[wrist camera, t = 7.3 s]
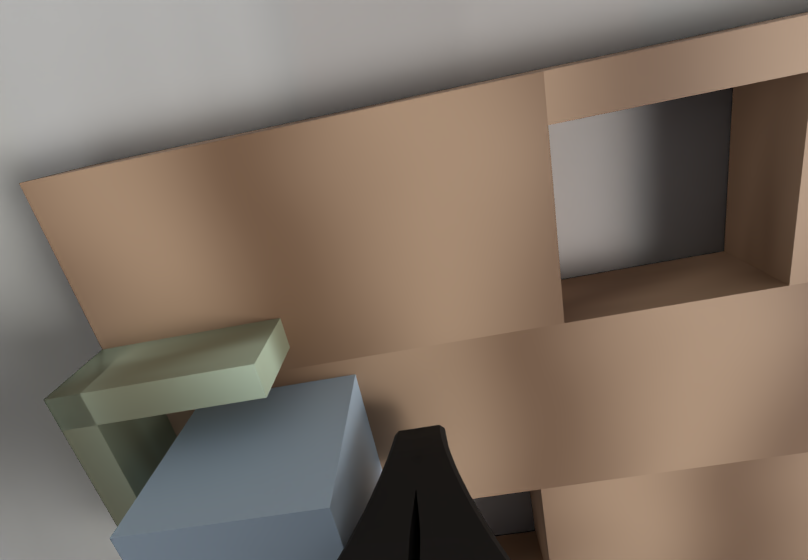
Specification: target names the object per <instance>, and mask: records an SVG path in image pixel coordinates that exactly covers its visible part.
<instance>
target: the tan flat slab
mask: <svg viewBox="0 0 808 560" xmlns="http://www.w3.org/2000/svg"><path fill="white" fill-rule="evenodd" d="M732 87H733V98H732V117H731V135H730V154H729V172H728V190H727V209H726V227H725V246H724V251H722V252H717V253H711V254H705V255H700V256H694V257H688V258H682V259H677V260H671V261H665V262H660V263H654V264H648V265H643V266H637V267H631V268H626V269H620V270H614V271H608V272H603V273H597V274H591V275H586V276H580V277H574V278H569V279H563V280H561V275H560V263H559V251H558V239H557V227H556V215H555V203H554V191H553V179H552V167H551V155H550V143H549V131H548V125H551V124H556V123H560V122H565V121H570V120H575V119H580V118H585V117H590V116H595V115H600V114H605V113H610V112H614V111H619V110H624V109H629V108H634V107H639V106H644V105H649V104H654V103H659V102H664V101H668V100H673V99H678V98H683V97H688V96H693V95H698V94H703V93H708V92H713V91H718V90H722V89H727V88H732ZM19 184H20V186H21V188H22V190H23V192H24V194H25V196H26V198H27V200H28V202H29V204H30V206H31V208H32V210H33V212H34V214H35V216H36V218H37V220H38V222H39V224H40V226H41V228H42V230H43V232H44V234H45V236H46V238H47V240H48V242H49V244H50V246H51V248H52V250H53V252H54V254H55V256H56V258H57V260H58V262H59V264H60V266H61V268H62V270H63V272H64V274H65V276H66V278H67V280H68V282H69V284H70V286H71V288H72V290H73V292H74V294H75V296H76V298H77V300H78V302H79V304H80V306H81V308H82V310H83V312H84V314H85V316H86V318H87V320H88V322H89V324H90V326H91V328H92V330H93V332H94V334H95V336H96V338H97V340H98V342H99V344H100V346H101V348H102V350H101V351H100V352H99V353H98V354H97V355H95V356H94V357H93V358H92V359H91V360H90V361H88V362H87V363H86V364H85V365H84V366H83V367H81V368H80V369H79V370H78V371H77V372H76V373H74V374H73V375H72V376H71V377H70V378H69V379H67V380H66V381H65V382H64V383H63V384H62V385H60V386H59V387H58V388H57V389H56V390H55V391H53V392H52V393H51V394H50V395H49V396H48V397H46V398H45V399H44V401H45V403H46V405H47V406H48V408H49V410H50V412H51V413H52V415H53V417H54V419H55V420H56V422H57V424H58V425H59V427H60V429H61V431H62V432H63V434H64V436H65V437H66V439H67V441H68V443H69V444H70V446H71V448H72V450H73V451H74V453H75V455H76V456H77V458H78V460H79V462H80V463H81V465H82V467H83V468H84V470H85V472H86V474H87V475H88V477H89V479H90V480H91V482H92V484H93V486H94V487H95V489H96V491H97V493H98V494H99V496H100V498H101V499H102V501H103V503H104V505H105V506H106V508H107V510H108V511H109V513H110V515H111V517H112V518H113V520H114V522H115V524H116V525H117V527H118V525H119V524H120V522H121V521H122V519H123V518H124V516H125V515H126V513H127V512H128V510H129V509H130V507H131V506H132V504H133V503H134V501H135V500H136V498H137V497H138V495H139V494H140V492H141V491H142V489H143V488H144V486H145V485H146V483H147V482H148V480H149V479H150V477H151V476H152V474H153V473H154V471H155V470H156V468H157V467H158V465H159V464H160V462H161V461H162V459H163V457H164V456H165V454H166V453H167V451H168V450H169V448H170V447H171V445H172V444H173V442H174V441H175V439H176V438H177V436H178V435H179V433H180V432H181V430H182V429H183V427H184V426H185V424H186V423H187V421H188V420H189V418H190V417H191V415H192V414H193V412H194V411H195V409H200V408H206V407H212V406H218V405H224V404H230V403H236V402H242V401H249V400H255V399H261V398H267V396H268V394H269V391H270V389H271V388H275V387H281V386H287V385H293V384H300V383H306V382H312V381H318V380H324V379H330V378H336V377H342V376H348V375H354V374H356V378H357V382H358V385H359V389H360V392H361V396H362V400H363V403H364V407H365V410H366V414H367V417H368V421H369V425H370V428H371V432H372V435H373V439H374V442H375V446H376V450H377V453H378V457H379V460H380V464H381V467H382V470H383V467H384V465H385V462H386V460H387V457H388V454H389V452H390V449H391V446H392V443H393V440H394V436H395V435H396V433H397V432H398V431H401V430H408V429H415V428H421V427H428V426H434V425H441V426H442V427H444V428H445V431H446V436H447V441H448V446H449V449H450V452H451V455H452V457H453V460H454V462H455V465H456V467H457V469H458V471H459V474H460V476H461V478H462V480H463V482H464V484H465V486H466V488H467V490H468V492H469V494H470V495H471V497H472V499H475V498H482V497H489V496H496V495H503V494H511V493H518V492H525V491H530V495H531V502H532V510H533V517H534V525H535V531H532V532H524V533H517V534H509V535H501V536H495V537H496V539H497V540H498V542H499V543H500V545H501V546H502V547H503V549H504V550H505V552H506V553H507V555H508V556H509V558H510V559H511V560H808V12H805V13H800V14H796V15H791V16H786V17H782V18H777V19H772V20H768V21H763V22H758V23H754V24H749V25H744V26H740V27H735V28H730V29H726V30H721V31H716V32H712V33H707V34H702V35H698V36H693V37H688V38H684V39H679V40H674V41H670V42H665V43H660V44H656V45H651V46H646V47H641V48H637V49H632V50H627V51H623V52H618V53H613V54H609V55H604V56H599V57H595V58H590V59H585V60H581V61H576V62H571V63H567V64H562V65H557V66H553V67H548V68H543V69H539V70H534V71H529V72H525V73H520V74H515V75H511V76H506V77H501V78H497V79H492V80H487V81H483V82H478V83H473V84H469V85H464V86H459V87H455V88H450V89H445V90H441V91H436V92H431V93H427V94H422V95H417V96H413V97H408V98H403V99H399V100H394V101H389V102H385V103H380V104H375V105H371V106H366V107H361V108H357V109H352V110H347V111H343V112H338V113H333V114H329V115H324V116H319V117H314V118H310V119H305V120H300V121H296V122H291V123H286V124H282V125H277V126H272V127H268V128H263V129H258V130H254V131H249V132H244V133H240V134H235V135H230V136H226V137H221V138H216V139H212V140H207V141H202V142H198V143H193V144H188V145H184V146H179V147H174V148H170V149H165V150H160V151H156V152H151V153H146V154H142V155H137V156H132V157H128V158H123V159H118V160H114V161H109V162H104V163H100V164H95V165H90V166H86V167H82V168H78V169H74V170H70V171H66V172H62V173H58V174H54V175H50V176H46V177H42V178H38V179H34V180H30V181H26V182H22V183H19Z"/></svg>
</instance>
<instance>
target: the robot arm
mask: <svg viewBox="0 0 808 560" xmlns="http://www.w3.org/2000/svg"><path fill="white" fill-rule="evenodd" d="M337 560H511V559H510V558H509V556H508V555H507V553H506V552H505V550H504V549H503V547H502V546H501V545H500V543H499V542H498V540H497V539H496V537H495V536H494V534H493V533H492V531H491V529H490V528H489V526H488V525H487V523H486V521H485V520H484V518H483V516H482V515H481V513H480V511H479V510H478V508H477V506H476V504H475V503H474V501H473V499H472V497H471V495H470V494H469V492H468V490H467V488H466V486H465V484H464V482H463V480H462V478H461V476H460V474H459V471H458V469H457V467H456V465H455V462H454V460H453V457H452V455H451V452H450V449H449V446H448V441H447V436H446V431H445V428H444V427H442V426H441V425H434V426H428V427H421V428H415V429H408V430H401V431H398V432H397V433H396V435H395V436H394V440H393V443H392V446H391V449H390V452H389V454H388V457H387V460H386V462H385V465H384V467H383V470H382V472H381V475H380V477H379V479H378V481H377V484H376V486H375V488H374V490H373V493H372V495H371V497H370V499H369V501H368V503H367V506H366V508H365V510H364V512H363V513H362V515H361V517H360V519H359V521H358V523H357V525H356V527H355V529H354V531H353V533H352V534H351V536H350V538H349V540H348V542H347V543H346V545H345V547H344V549H343V550H342V552H341V554H340V556H339V557H338V559H337Z"/></svg>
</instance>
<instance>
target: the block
mask: <svg viewBox="0 0 808 560" xmlns="http://www.w3.org/2000/svg"><path fill="white" fill-rule="evenodd" d="M381 472H382V467H381V464H380V460H379V457H378V453H377V450H376V446H375V442H374V439H373V435H372V432H371V428H370V425H369V421H368V417H367V414H366V410H365V407H364V403H363V400H362V396H361V392H360V389H359V385H358V382H357V378H356V374H354V375H348V376H342V377H336V378H330V379H324V380H318V381H312V382H306V383H300V384H293V385H287V386H281V387H275V388H271V389H270V391H269V394H268V396H267V398H261V399H255V400H249V401H242V402H236V403H230V404H224V405H218V406H212V407H206V408H200V409H195V411H194V412H193V414H192V415H191V417H190V418H189V420H188V421H187V423H186V424H185V426H184V427H183V429H182V430H181V432H180V433H179V435H178V436H177V438H176V439H175V441H174V442H173V444H172V445H171V447H170V448H169V450H168V451H167V453H166V454H165V456H164V457H163V459H162V461H161V462H160V464H159V465H158V467H157V468H156V470H155V471H154V473H153V474H152V476H151V477H150V479H149V480H148V482H147V483H146V485H145V486H144V488H143V489H142V491H141V492H140V494H139V495H138V497H137V498H136V500H135V501H134V503H133V504H132V506H131V507H130V509H129V510H128V512H127V513H126V515H125V516H124V518H123V519H122V521H121V522H120V524H119V525H118V527H117V528H116V530H115V531H114V533H113V534H112V536H111V537H110V540H111V542H112V543H113V545H114V547H115V548H116V550H117V552H118V553H119V555H120V557H121V558H122V560H337V559H338V557H339V556H340V554H341V552H342V550H343V549H344V547H345V545H346V543H347V542H348V540H349V538H350V536H351V534H352V533H353V531H354V529H355V527H356V525H357V523H358V521H359V519H360V517H361V515H362V513H363V512H364V510H365V508H366V506H367V503H368V501H369V499H370V497H371V495H372V493H373V490H374V488H375V486H376V484H377V481H378V479H379V477H380V475H381Z"/></svg>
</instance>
